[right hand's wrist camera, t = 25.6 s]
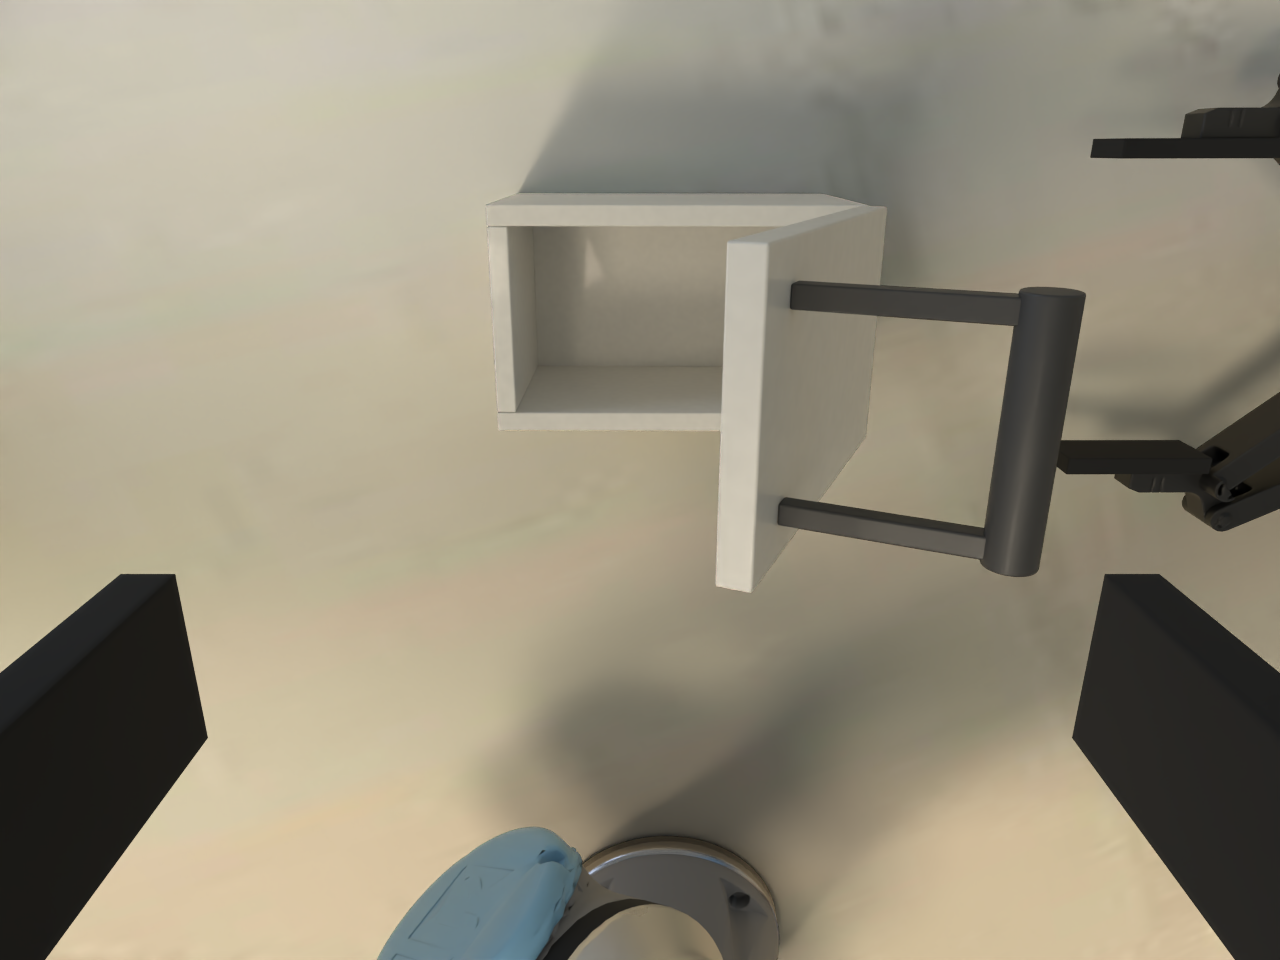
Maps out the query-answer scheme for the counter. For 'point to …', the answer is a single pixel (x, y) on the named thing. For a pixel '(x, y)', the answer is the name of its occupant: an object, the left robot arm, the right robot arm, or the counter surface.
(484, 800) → the counter surface
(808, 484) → the lid
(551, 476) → the counter surface
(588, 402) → the chest
